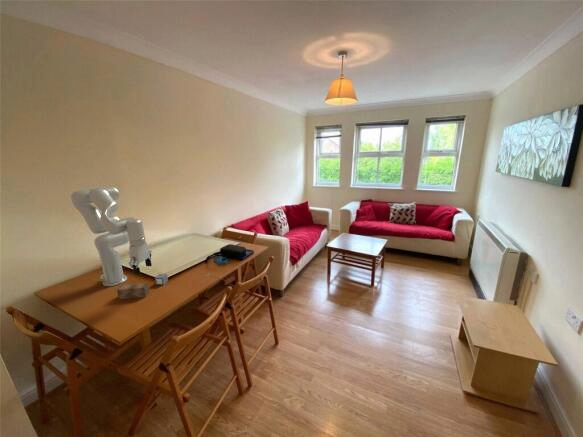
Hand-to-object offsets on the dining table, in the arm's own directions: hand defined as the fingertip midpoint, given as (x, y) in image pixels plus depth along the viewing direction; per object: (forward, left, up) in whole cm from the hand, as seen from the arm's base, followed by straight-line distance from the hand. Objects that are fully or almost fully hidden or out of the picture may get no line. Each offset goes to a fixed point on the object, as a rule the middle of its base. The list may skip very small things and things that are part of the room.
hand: (143, 269), depth 135 cm
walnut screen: (-6, -3, -15) cm, 16 cm away
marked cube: (+2, +11, -15) cm, 18 cm away
